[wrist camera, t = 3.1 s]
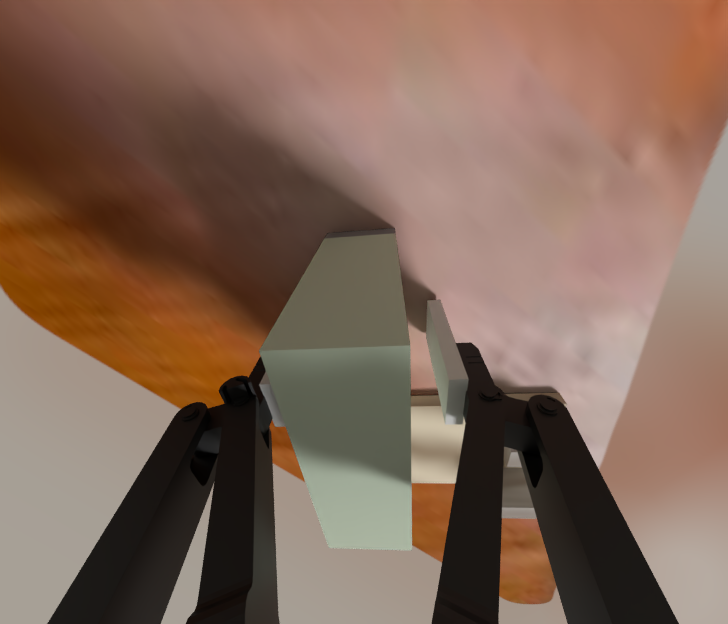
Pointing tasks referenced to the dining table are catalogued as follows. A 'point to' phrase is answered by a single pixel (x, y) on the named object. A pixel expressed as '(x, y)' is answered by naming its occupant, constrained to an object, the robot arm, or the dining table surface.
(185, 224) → the dining table surface
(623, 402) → the dining table surface
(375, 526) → the door panel
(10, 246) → the dining table surface
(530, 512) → the hinge bracket
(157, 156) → the dining table surface
